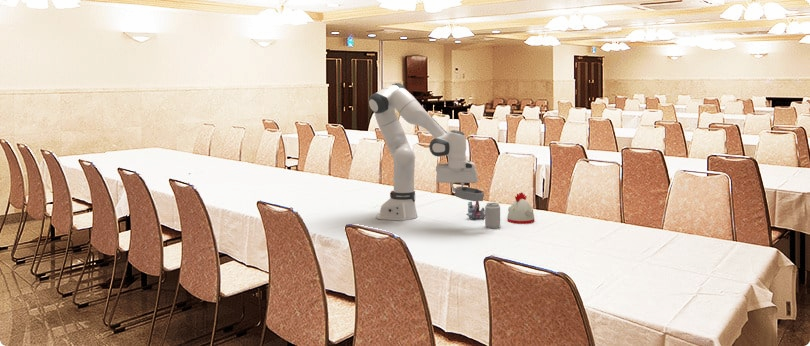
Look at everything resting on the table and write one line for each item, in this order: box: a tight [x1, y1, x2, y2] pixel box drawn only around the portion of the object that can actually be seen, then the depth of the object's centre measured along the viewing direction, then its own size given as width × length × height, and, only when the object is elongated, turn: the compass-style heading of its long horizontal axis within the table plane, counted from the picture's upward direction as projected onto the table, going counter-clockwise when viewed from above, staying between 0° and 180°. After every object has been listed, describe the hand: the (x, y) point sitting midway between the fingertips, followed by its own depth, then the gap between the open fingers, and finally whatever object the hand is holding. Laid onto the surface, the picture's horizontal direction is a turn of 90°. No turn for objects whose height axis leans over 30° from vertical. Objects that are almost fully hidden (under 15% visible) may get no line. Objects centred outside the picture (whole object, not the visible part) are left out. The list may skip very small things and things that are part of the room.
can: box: [484, 202, 501, 229], centre depth 327 cm, size 8×8×12 cm
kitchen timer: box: [506, 192, 535, 225], centre depth 338 cm, size 14×14×15 cm
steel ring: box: [454, 186, 485, 202], centre depth 321 cm, size 14×14×4 cm
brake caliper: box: [466, 201, 485, 221], centre depth 348 cm, size 11×11×12 cm
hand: (457, 191), depth 321 cm, fingers closed on steel ring
